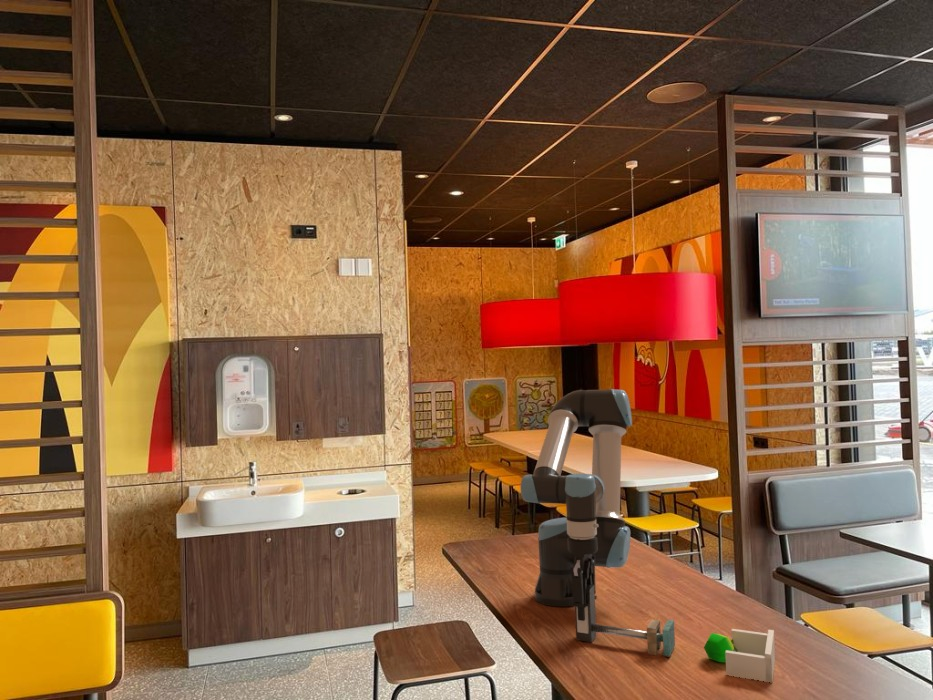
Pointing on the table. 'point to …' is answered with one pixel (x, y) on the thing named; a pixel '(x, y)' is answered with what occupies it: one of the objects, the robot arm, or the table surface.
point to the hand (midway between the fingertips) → (585, 628)
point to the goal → (751, 655)
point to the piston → (666, 637)
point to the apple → (718, 647)
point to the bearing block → (653, 637)
